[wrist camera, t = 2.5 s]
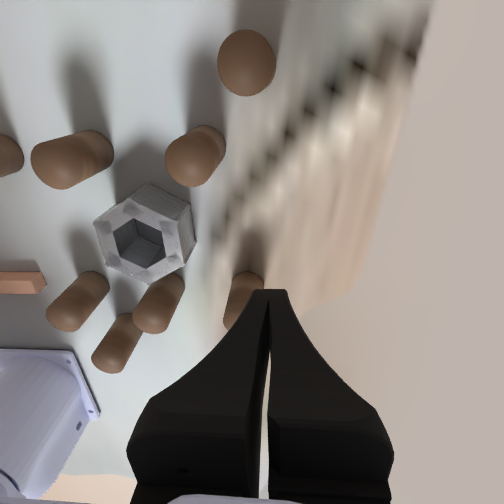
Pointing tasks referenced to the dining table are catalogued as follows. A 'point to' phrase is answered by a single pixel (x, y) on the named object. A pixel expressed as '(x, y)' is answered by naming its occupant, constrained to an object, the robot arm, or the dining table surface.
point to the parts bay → (21, 282)
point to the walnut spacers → (181, 170)
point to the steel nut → (139, 249)
